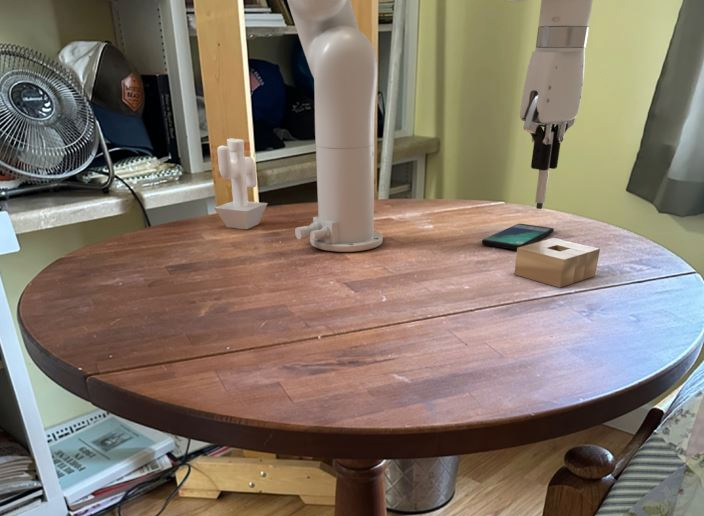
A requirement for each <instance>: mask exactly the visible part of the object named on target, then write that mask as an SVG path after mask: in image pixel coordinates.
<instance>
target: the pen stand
mask: <svg viewBox="0 0 704 516" xmlns="http://www.w3.org/2000/svg"><path fill="white" fill-rule="evenodd" d="M600 252H601V248H598V247H595V246H589V245H586V244H581V243H577V242H573V241H568V240H565V239H560V238H556V237H551V238H547V239H543V240H540V241H535V242H533V243H531V244H529V245H525V246H522V247H518V248H517V250H516V258H515V266H514V275H515V276H519V277H522V278H525V279H529V280H532V281H536V282H539V283H543V284H545V285H549V286H552V287H556V288H559V289H560V288H563V287H566V286H569V285H572V284H576V283H578V282H581V281H584V280H588V279H590V278H593V277H596V274H597V269H598V262H599V256H600Z"/></svg>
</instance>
